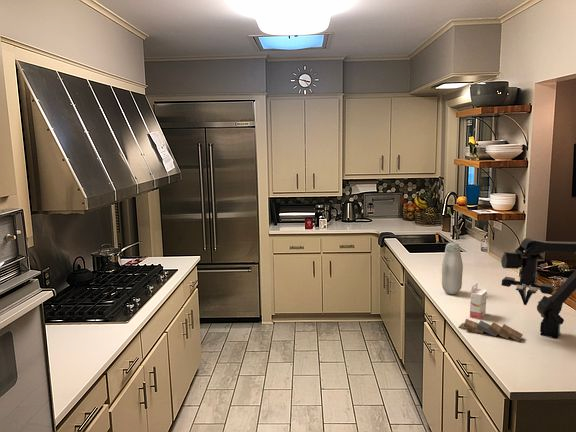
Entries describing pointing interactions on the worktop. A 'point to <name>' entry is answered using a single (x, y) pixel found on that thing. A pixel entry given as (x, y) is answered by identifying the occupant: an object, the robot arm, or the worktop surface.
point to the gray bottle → (452, 269)
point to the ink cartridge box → (478, 302)
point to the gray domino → (486, 328)
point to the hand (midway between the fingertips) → (525, 305)
